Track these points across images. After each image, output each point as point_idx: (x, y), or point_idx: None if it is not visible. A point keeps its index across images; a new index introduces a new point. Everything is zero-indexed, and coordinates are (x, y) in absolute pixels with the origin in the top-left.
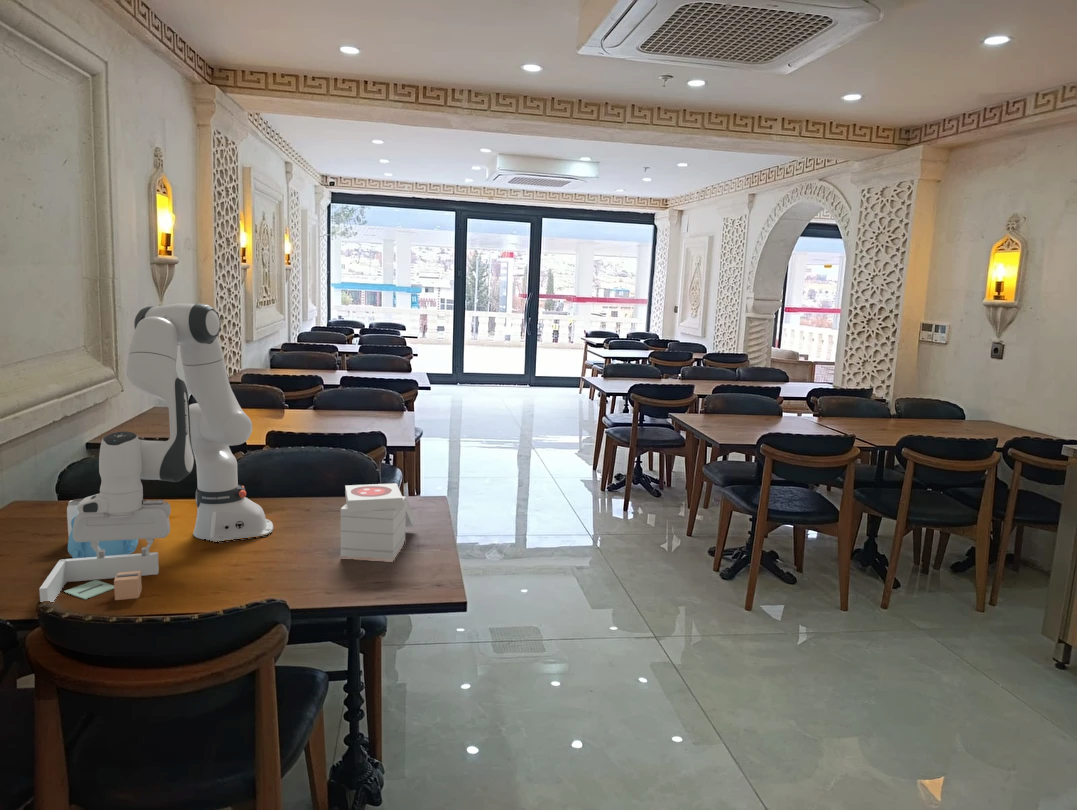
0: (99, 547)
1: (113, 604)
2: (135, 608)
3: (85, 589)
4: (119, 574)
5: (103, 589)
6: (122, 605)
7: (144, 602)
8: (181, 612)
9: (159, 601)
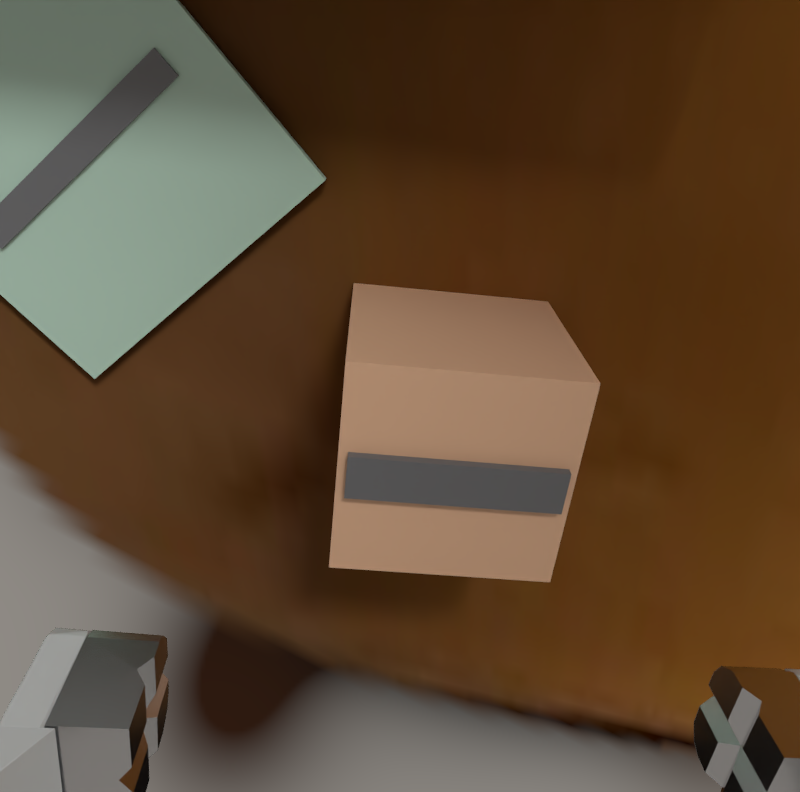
0: (6, 786)
1: None
2: (487, 621)
3: (26, 155)
4: (369, 424)
5: (208, 215)
6: None
7: None
8: None
9: (650, 566)
